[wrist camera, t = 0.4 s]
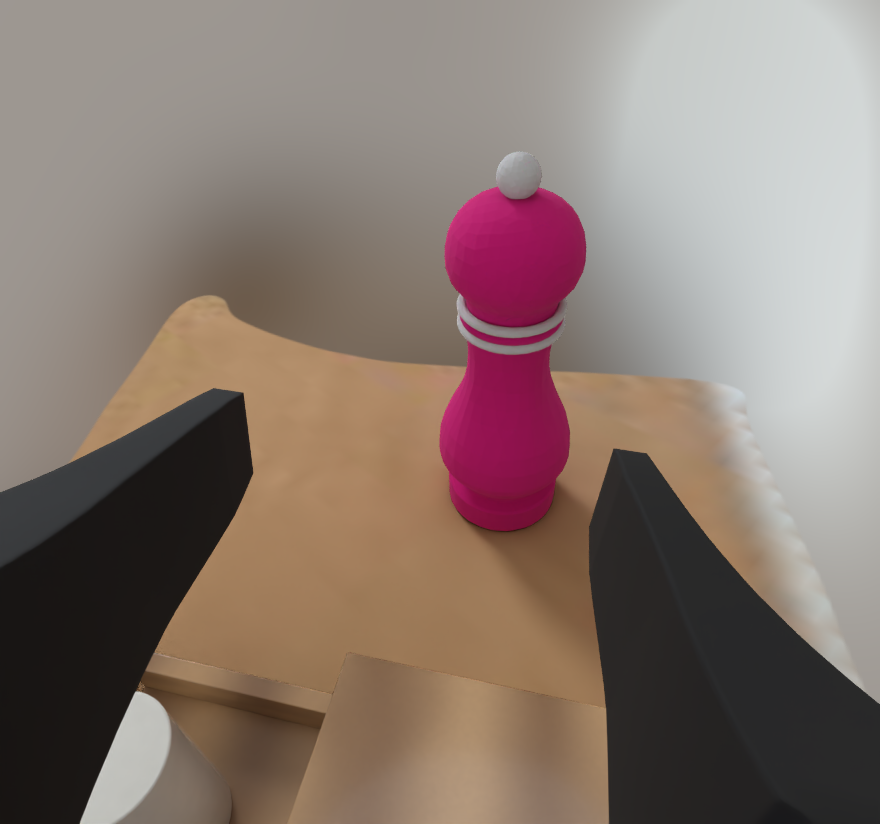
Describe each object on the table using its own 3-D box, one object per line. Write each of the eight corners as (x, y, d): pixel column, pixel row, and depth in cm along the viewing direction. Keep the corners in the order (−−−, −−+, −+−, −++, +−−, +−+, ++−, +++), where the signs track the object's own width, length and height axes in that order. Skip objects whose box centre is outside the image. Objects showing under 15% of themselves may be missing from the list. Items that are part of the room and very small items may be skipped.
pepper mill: (459, 438, 40) (454, 117, 26) (569, 459, 38) (624, 127, 25) (426, 524, 35) (399, 182, 21) (551, 552, 33) (607, 201, 20)
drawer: (-174, 930, 22) (-249, 915, 19) (44, 635, 30) (10, 600, 27) (290, 1102, 18) (264, 1109, 16) (394, 717, 26) (388, 685, 24)
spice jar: (199, 900, 21) (119, 854, 16) (100, 869, 22) (-4, 816, 17) (250, 775, 24) (195, 704, 19) (160, 751, 25) (86, 677, 20)
